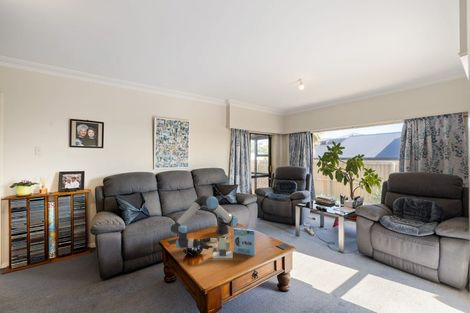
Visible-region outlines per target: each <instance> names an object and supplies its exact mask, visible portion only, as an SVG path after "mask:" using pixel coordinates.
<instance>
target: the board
mask: <svg viewBox="0 0 470 313" xmlns="http://www.w3.org/2000/svg"><path fill="white" fill-rule="evenodd" d="M233 254H234V250H233V251H231V250H230V251H226V256H219V251H213V252H212V257H211V258H212V259H233V257H234V255H233Z"/></svg>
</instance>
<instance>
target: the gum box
mask: <svg viewBox="0 0 470 313" xmlns="http://www.w3.org/2000/svg"><path fill="white" fill-rule="evenodd" d="M233 254H240V255H245V256H253V257H254V256H255V254H256V230H255V229H254V228H244V227H236V226H235V227H233Z"/></svg>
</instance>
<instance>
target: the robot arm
mask: <svg viewBox="0 0 470 313" xmlns="http://www.w3.org/2000/svg"><path fill="white" fill-rule="evenodd" d="M203 207H204V208H207V209H208V210H210V211H211V212H212V211H213V212H214V213H215V214H217V226H216V230H215V232H216V235H220V236H224V235H227V234H230V229H229V227H232V228H235V227H236V226H237V224H238V222H239V219H238V217H237V216H236V215H235V216H234V215H233V214H232V213H230V212H228V211H226V209H224V208H223V207H222V206H221V205H220V204H219V200H218V198H217V197H215V196H211V195H210V196H209V195H205V194H204V195H200V196H199V197H197V198H196V199H195V200H194V201H193V202H192V205H190V206H189V208H188V209H187V210H185V212H184V213H183V214H182V215H181V216H180V217H179V218H178V220H176V222H174V223H172V224H170V225H169V227H168V231H169V232H170V233H172V234H174V235H176V236H178V237H177V239H175V240H176V241H175V247H176V248H177V249H185V248H187V249H188V248H189V249H193V248H194V249H196V248H198V249H204V250H210V249H216V245H217V244H207V243H209V242H210V243H211V242H214V243H215V242H216V243H217V242H218V238H215V237H214V238H211V236H209V237H205V238H188V226H187V225H186V223H187V222H188V221H189V220H190V219H191V218H192V217H193V215H195V214H196V212H197V211H199V209H201V208H203Z"/></svg>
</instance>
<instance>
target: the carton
mask: <svg viewBox="0 0 470 313" xmlns="http://www.w3.org/2000/svg"><path fill="white" fill-rule="evenodd" d="M215 245H216V248H215V252H219V241H217V242H216V244H215ZM226 252H231V241H226Z"/></svg>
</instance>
